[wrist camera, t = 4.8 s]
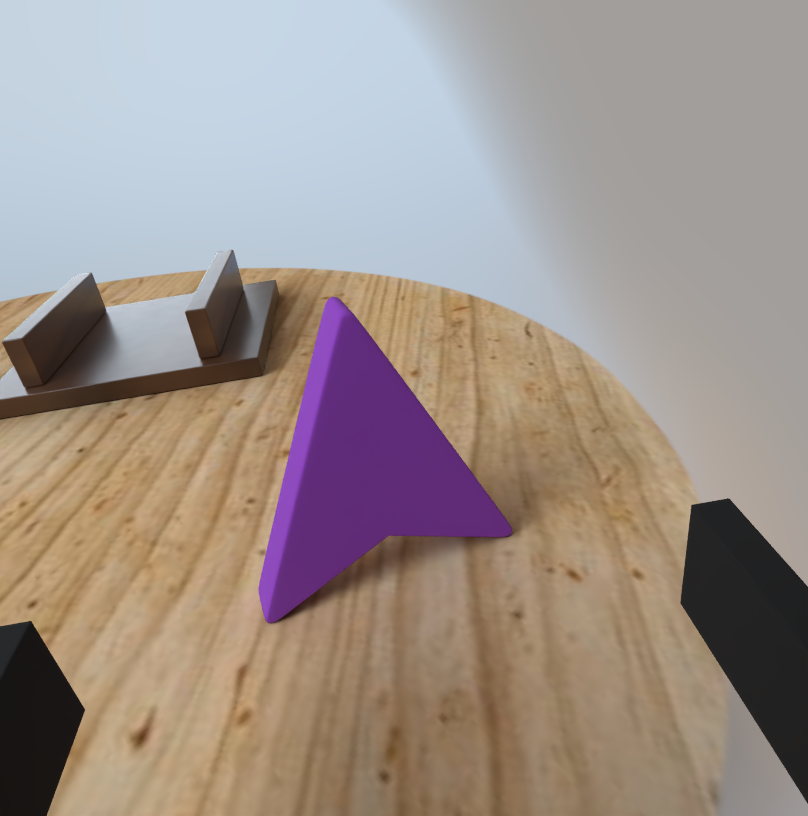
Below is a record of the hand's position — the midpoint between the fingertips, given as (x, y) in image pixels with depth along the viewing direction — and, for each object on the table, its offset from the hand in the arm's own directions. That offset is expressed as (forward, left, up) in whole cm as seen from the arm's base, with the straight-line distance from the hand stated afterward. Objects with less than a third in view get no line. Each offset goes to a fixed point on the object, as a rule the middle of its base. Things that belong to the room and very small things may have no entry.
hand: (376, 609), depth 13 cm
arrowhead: (0, -8, -6) cm, 10 cm away
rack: (+14, -32, -6) cm, 35 cm away
